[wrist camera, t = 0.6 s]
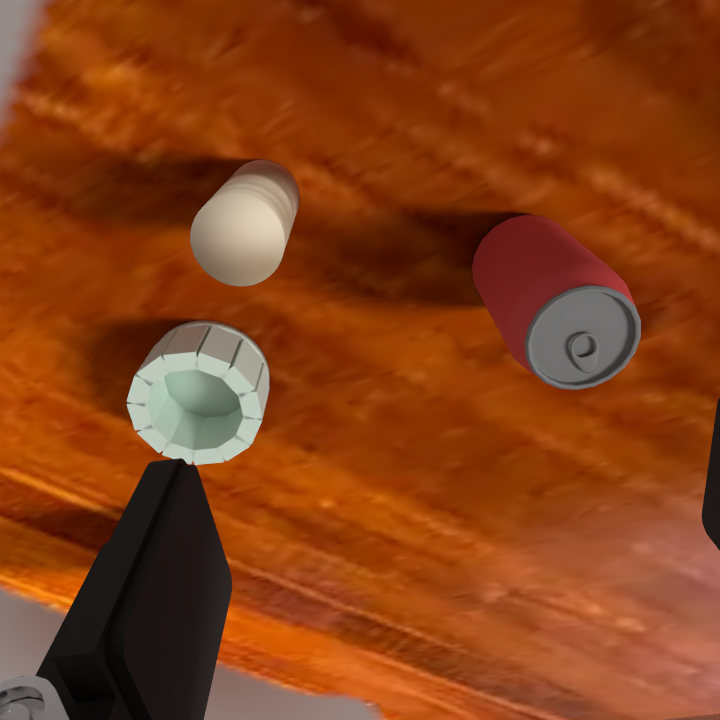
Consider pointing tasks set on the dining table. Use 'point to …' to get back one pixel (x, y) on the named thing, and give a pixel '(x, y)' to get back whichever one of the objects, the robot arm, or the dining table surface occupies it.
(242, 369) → the cup
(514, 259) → the beer can
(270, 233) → the plug
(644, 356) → the dining table surface
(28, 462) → the dining table surface
